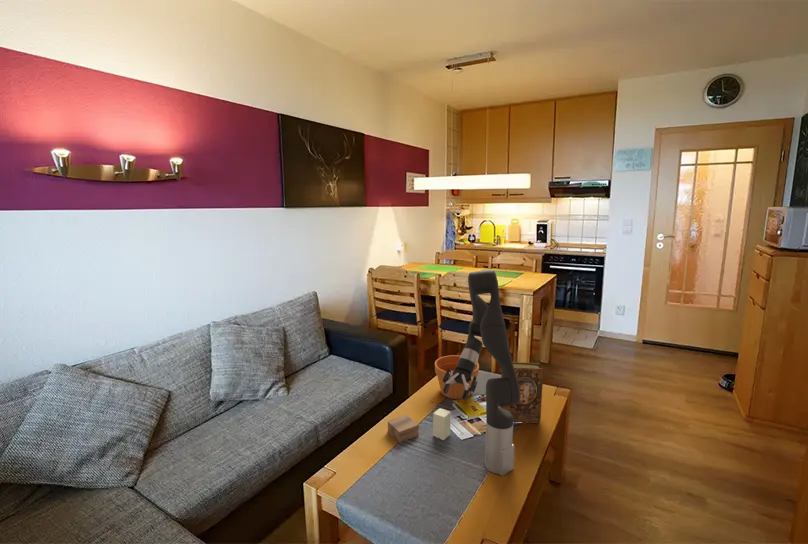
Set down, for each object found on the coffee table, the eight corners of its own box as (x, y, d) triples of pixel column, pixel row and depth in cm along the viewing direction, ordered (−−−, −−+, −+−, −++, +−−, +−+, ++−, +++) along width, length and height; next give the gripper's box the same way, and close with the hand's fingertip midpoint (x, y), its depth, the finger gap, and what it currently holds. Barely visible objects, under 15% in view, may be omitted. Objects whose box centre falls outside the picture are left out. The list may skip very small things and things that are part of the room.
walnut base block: (418, 436, 165) (418, 424, 164) (399, 443, 160) (399, 432, 159) (406, 425, 172) (406, 414, 171) (387, 432, 167) (387, 421, 166)
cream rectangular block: (450, 434, 165) (450, 411, 163) (443, 440, 161) (444, 417, 159) (439, 430, 168) (439, 407, 166) (433, 435, 164) (433, 413, 162)
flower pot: (484, 388, 203) (485, 360, 200) (467, 407, 185) (468, 377, 182) (446, 378, 214) (446, 352, 211) (426, 395, 196) (426, 366, 194)
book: (500, 422, 173) (502, 367, 168) (498, 415, 179) (501, 361, 174) (540, 424, 172) (543, 368, 167) (537, 417, 177) (540, 363, 172)
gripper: (450, 353, 178) (435, 388, 171) (480, 361, 169) (466, 398, 163) (456, 361, 183) (442, 395, 176) (485, 369, 175) (472, 405, 168)
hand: (453, 396), depth 170 cm, fingers open, 8 cm apart
